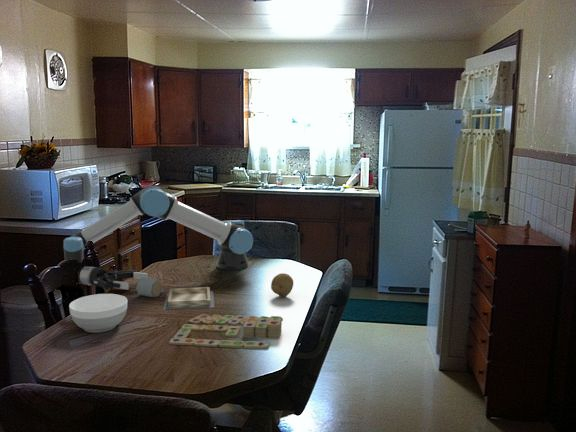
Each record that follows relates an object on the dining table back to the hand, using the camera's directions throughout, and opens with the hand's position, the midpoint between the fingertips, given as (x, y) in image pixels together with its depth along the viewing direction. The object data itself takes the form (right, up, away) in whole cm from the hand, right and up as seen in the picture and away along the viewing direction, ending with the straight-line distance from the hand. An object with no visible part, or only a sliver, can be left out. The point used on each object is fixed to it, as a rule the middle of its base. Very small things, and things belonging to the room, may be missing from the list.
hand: (138, 281), depth 214 cm
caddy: (+22, -7, -6) cm, 24 cm away
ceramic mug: (+5, -6, +1) cm, 8 cm away
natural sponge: (+59, -7, 0) cm, 59 cm away
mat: (+22, -7, -6) cm, 24 cm away
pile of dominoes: (+42, -13, -35) cm, 56 cm away
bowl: (-4, -12, -33) cm, 35 cm away
